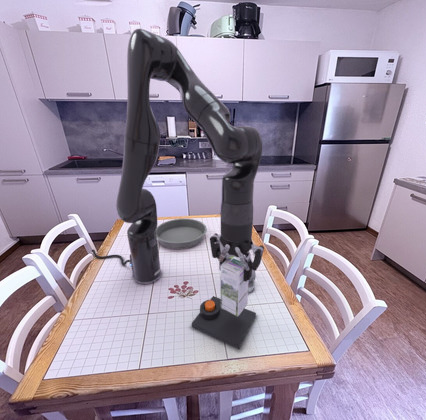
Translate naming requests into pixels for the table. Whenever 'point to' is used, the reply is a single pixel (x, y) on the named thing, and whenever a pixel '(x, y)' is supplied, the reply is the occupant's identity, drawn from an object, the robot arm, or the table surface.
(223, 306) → the syrup box
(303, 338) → the table surface
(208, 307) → the button
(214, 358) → the table surface
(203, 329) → the black button base
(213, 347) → the table surface
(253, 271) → the ceramic mug
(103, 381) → the table surface
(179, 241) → the cake pan
